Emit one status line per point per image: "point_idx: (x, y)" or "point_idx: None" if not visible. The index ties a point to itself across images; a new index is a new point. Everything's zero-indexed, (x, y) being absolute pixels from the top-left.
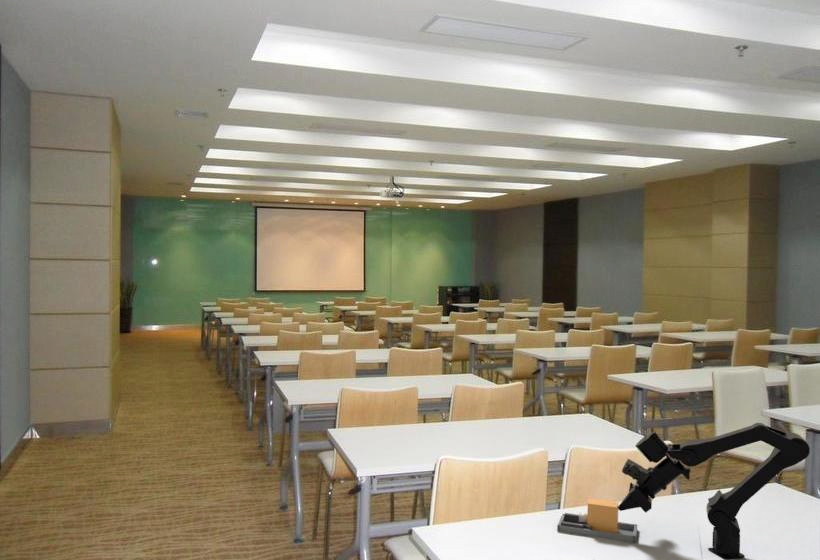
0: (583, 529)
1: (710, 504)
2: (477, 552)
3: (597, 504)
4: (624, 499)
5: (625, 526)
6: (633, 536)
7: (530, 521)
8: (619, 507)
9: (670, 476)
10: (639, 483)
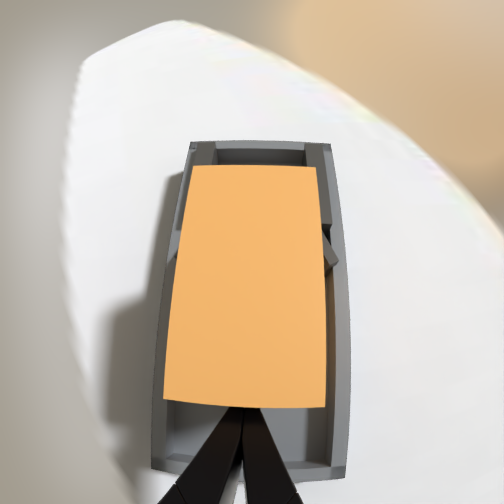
0: (172, 229)
1: None
2: (80, 84)
3: (189, 227)
4: (247, 483)
5: (331, 423)
6: (158, 460)
7: (287, 99)
8: (223, 418)
9: None
10: None
